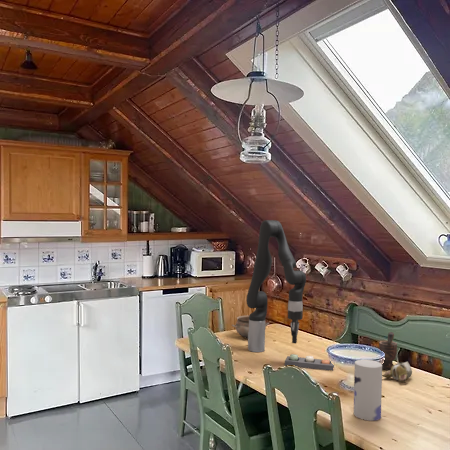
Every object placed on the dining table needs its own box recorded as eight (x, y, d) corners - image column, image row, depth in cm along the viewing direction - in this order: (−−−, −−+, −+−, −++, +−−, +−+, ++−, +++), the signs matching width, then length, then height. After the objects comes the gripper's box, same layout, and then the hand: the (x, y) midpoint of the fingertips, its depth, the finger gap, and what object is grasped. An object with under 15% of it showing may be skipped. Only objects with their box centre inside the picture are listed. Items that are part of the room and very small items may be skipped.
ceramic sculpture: (418, 360, 223) (401, 368, 213) (418, 378, 223) (402, 387, 213) (397, 355, 231) (380, 363, 221) (397, 373, 231) (380, 381, 222)
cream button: (305, 362, 239) (305, 357, 239) (306, 360, 243) (306, 355, 243) (313, 363, 238) (313, 358, 238) (313, 361, 242) (314, 356, 242)
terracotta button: (321, 366, 237) (321, 361, 237) (321, 364, 241) (321, 359, 241) (329, 367, 236) (329, 362, 236) (329, 365, 240) (329, 360, 240)
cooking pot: (236, 342, 283) (237, 322, 283) (226, 335, 301) (226, 316, 301) (274, 340, 292) (275, 320, 291) (262, 333, 309) (262, 314, 309)
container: (349, 410, 184) (350, 359, 184) (374, 410, 185) (375, 359, 185) (359, 421, 174) (360, 367, 174) (385, 420, 175) (386, 367, 175)
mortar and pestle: (403, 372, 232) (404, 332, 232) (387, 373, 231) (388, 332, 231) (390, 365, 244) (391, 327, 244) (375, 366, 242) (376, 327, 242)
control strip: (284, 365, 240) (284, 360, 240) (287, 360, 248) (287, 356, 248) (333, 370, 233) (333, 365, 233) (334, 365, 242) (334, 360, 242)
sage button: (289, 361, 241) (289, 355, 241) (290, 359, 245) (290, 353, 245) (297, 362, 240) (297, 356, 240) (298, 359, 244) (298, 354, 244)
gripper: (289, 306, 250) (288, 339, 250) (286, 311, 237) (285, 345, 238) (304, 307, 248) (303, 340, 248) (301, 312, 235) (300, 347, 236)
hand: (294, 343), depth 243 cm, fingers closed
